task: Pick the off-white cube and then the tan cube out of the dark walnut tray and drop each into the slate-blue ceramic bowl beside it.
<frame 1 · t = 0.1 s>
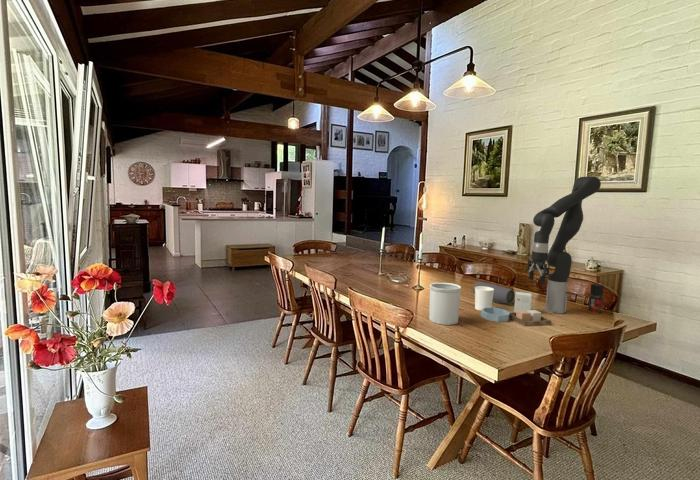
hand: (536, 281, 200), 17 cm above the table, tool pointing down, fingers open, 8 cm apart
ceramic bowl: (495, 318, 190), on the table
walnut tray: (528, 321, 186), on the table
small box: (522, 313, 201), on the table
tan cube: (522, 320, 186), point 1 cm above the table, touching walnut tray
bluetooth speaker: (492, 301, 223), on the table
off-white cube: (533, 320, 187), point 1 cm above the table, touching walnut tray
candle holder: (482, 310, 204), on the table
deodorant: (594, 311, 207), on the table
utensil holder: (443, 320, 185), on the table
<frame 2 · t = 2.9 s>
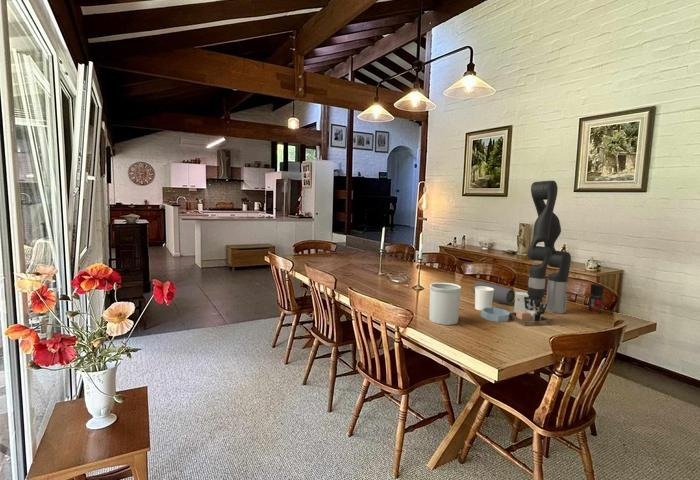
hand: (533, 319, 187), 1 cm above the table, tool pointing down, fingers closed on off-white cube, 4 cm apart
off-white cube: (533, 320, 187), point 1 cm above the table, touching gripper, walnut tray
everything else where it was.
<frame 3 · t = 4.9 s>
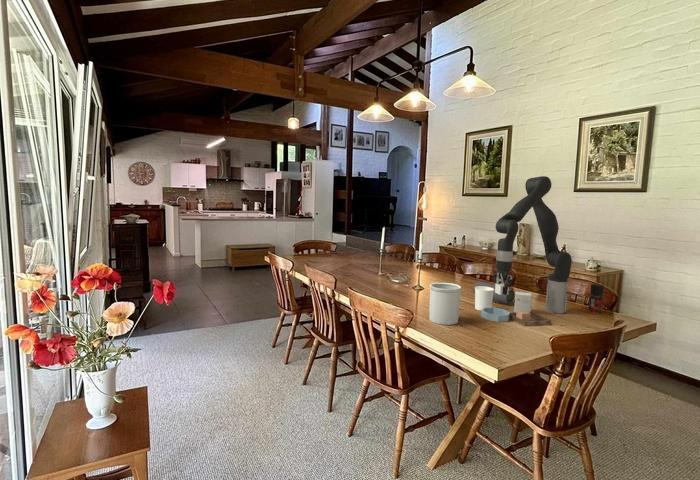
hand: (501, 293, 189), 13 cm above the table, tool pointing down, fingers closed on off-white cube, 4 cm apart
off-white cube: (501, 293, 189), point 13 cm above the table, touching gripper
everything else where it was.
when the fingers open (4 cm above the table, at t = 6.9 s): off-white cube drops 3 cm, resting on ceramic bowl.
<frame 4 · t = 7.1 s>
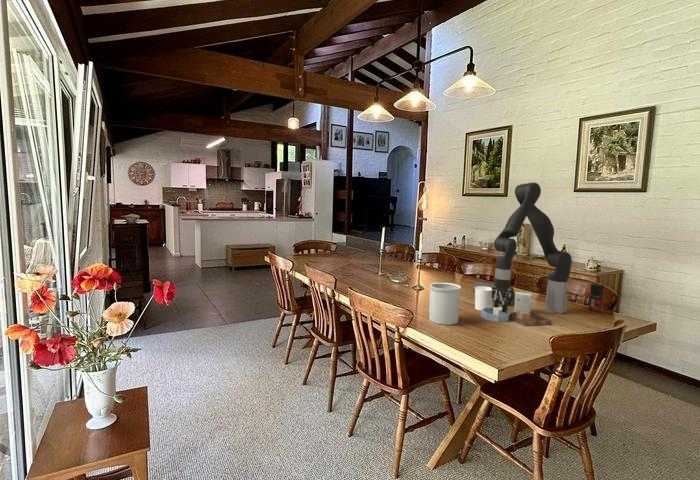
hand: (500, 309, 190), 4 cm above the table, tool pointing down, fingers open, 6 cm apart
off-white cube: (499, 317, 190), point 1 cm above the table, touching ceramic bowl
everything else where it was.
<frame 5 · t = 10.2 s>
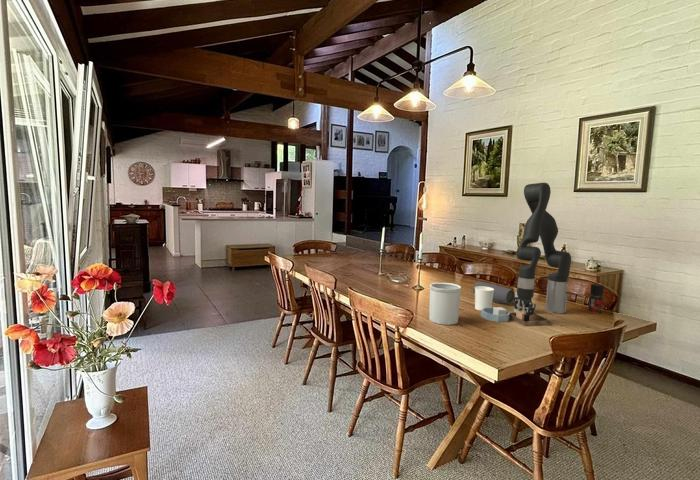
hand: (522, 320, 186), 1 cm above the table, tool pointing down, fingers closed on tan cube, 4 cm apart
tan cube: (522, 320, 186), point 1 cm above the table, touching gripper, walnut tray
everything else where it was.
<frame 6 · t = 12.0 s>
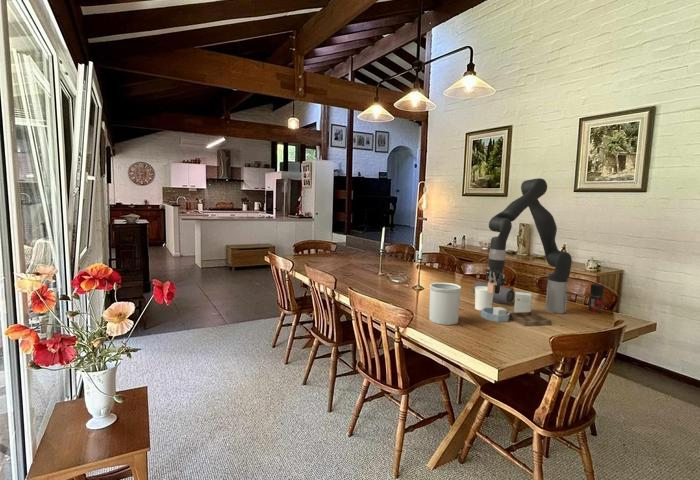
hand: (493, 291, 187), 14 cm above the table, tool pointing down, fingers closed on tan cube, 4 cm apart
tan cube: (493, 292, 187), point 14 cm above the table, touching gripper
everything else where it was.
when the fingers open (4 cm above the table, at t = 14.2 s): tan cube drops 3 cm, resting on ceramic bowl.
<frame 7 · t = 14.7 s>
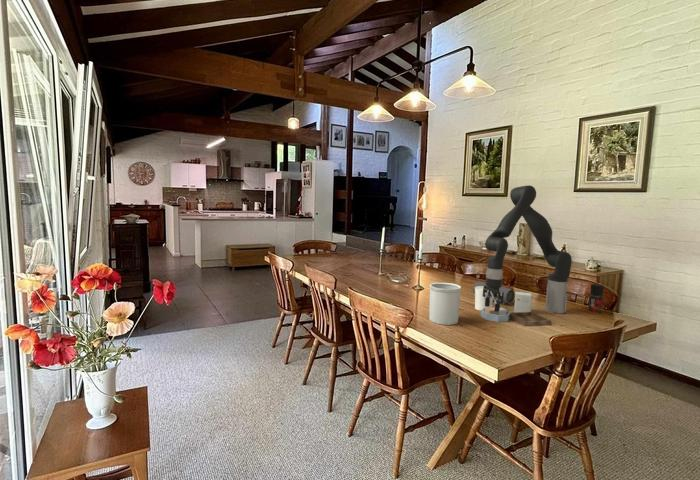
hand: (491, 308, 189), 5 cm above the table, tool pointing down, fingers open, 8 cm apart
tan cube: (490, 317, 189), point 1 cm above the table, touching ceramic bowl
everything else where it was.
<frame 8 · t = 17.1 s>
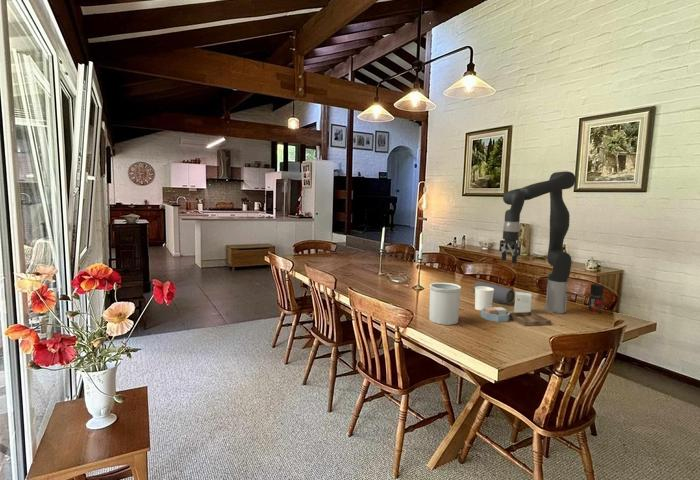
hand: (508, 261, 194), 28 cm above the table, tool pointing down, fingers open, 8 cm apart
nothing on the table moved.
at the end: off-white cube inside the target area on the ceramic bowl (2.5 cm from its centre), point 0.6 cm above the ceramic bowl's base; tan cube inside the target area on the ceramic bowl (2.5 cm from its centre), point 0.6 cm above the ceramic bowl's base; the gripper is holding nothing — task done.
